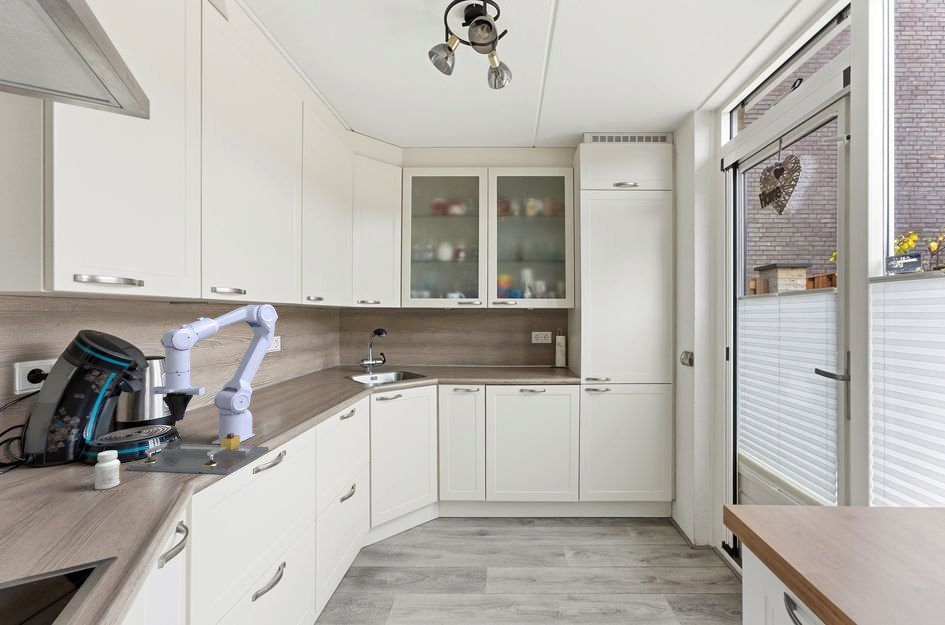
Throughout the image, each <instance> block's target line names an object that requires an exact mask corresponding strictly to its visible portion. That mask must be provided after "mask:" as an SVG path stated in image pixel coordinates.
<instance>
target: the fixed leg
mask: <svg viewBox="0 0 945 625" xmlns="http://www.w3.org/2000/svg"><path fill="white" fill-rule="evenodd" d="M181 444H182V442H181V438H176V437H169V438H168V440H165V441H163V442H162V444H158V445H156V446H154V447H150V448H148V449H145V450H144V451H145V452H144V454H146V455H147V458H148V460H151V459H152V456H153V455H152V454H153V452H156V451H158V450H161V449H162V448H163V449H173V448H175V447H178V446H180V445H181Z"/></svg>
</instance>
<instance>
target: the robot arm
mask: <svg viewBox="0 0 945 625" xmlns="http://www.w3.org/2000/svg"><path fill="white" fill-rule="evenodd" d="M278 318H279V316H278V314H277V312H276V309H275V307H274V306H273V305H272V304H268V303H267V304H247V305H246V306H240V307H238V308H236V309H234V310H231V311H229V312H227V313H225V314H222V315H220V316H218V317H215V318H213V319H211V318H210V317H198V318H196V321H193V322H190V323H188V324H181V325H180V327H179V328H172V329H168V330H167V331H165V333H164V334H163V335H162V337H161V339H160V344H161V346H162V347H163V348H164V351H165V354H164V355H165V356H164V357H165V361H164V364H165V365H164V366H165V367H164V368H165V370H164V371H165V372H164V374H165V375H164V377H165V380H164V382H165V386H164V385H163V386H162V385H161V386H153V387H152V386H151V395H153V396H154V395H165V396H163V397H162V401H163V402H164V403H165V404H166V406H167V408H168V410H169V412H170V414H171V419H172V421H173V422H179V421H183V420H184V417H185V413H186V410H187V408H188V406H189V404H190V402H191V400H192V399H193V396H202V395H205V391H206V390H205V389H206V388H205V387H203V386H202V387H201V386H194V385H191V348H193V347H194V345H195V344H197V343H200V342H202V341H204V340H206V339H209V338H211V337H214V336H216V334H217V333H218V331H219V330H220V329H223V328H226V327H227V326H231V325H234V324H237V323H239V322H245V323H246V324H247V325H248V327H249V328H250V329H251V330H252V332H253V334H254V336H253V338H252V340H251V342H250V343H249V345H248V348H247V349H246V351H245V353H244V355H243V357H242V359H241V361H240V363H239V365H238V367H237V369H236V371H235V373H234V375H233V376H232V379H230V380H229V381H227V382H226V383H225V384H224V385H223V387H222V389H221V390H219V391H218V392H217V393H216V394H215V396H214V398H213V403H214V406H215V407H216V408H217V409H218V439H216V440H214V441H212V442H211V445H221V439H222V438H224V437H226V436H227V434H230V433H234V435H240V443H242V442H244V441H246V440H248V439H250V438H252V437H254V436H255V435H256V434H255V433H253V415H252V412H251V411H250V410H249V409H248V408H249V406H250V404H251V396H252V393H253V391H254V390H253V389H252V388H253V387H251V386H252V384H251V383H252V381H253V380H254V378H255V376H256V373H257V371H258V369H259V368H260V366H261V363H262V361H263V359H264V357H265V355H266V353H267V351H268V349H269V348H270V345H271V343H272V341H273V339H274V337H275V329H276V322H277V319H278Z"/></svg>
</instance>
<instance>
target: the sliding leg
mask: <svg viewBox="0 0 945 625" xmlns="http://www.w3.org/2000/svg"><path fill="white" fill-rule="evenodd" d="M220 445H221V447H219V448H216V449H214V450H212V451H210V452H208V453H207V456H210V463H212V462H213V455H214V454H216V453H218V452H220V451H222V450H233V449H235V448H237V447H239V446H241V442H240V435H234V433H230V434H227V436H226V437H224V438H222V439H221V444H220Z"/></svg>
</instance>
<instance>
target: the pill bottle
mask: <svg viewBox="0 0 945 625" xmlns="http://www.w3.org/2000/svg"><path fill="white" fill-rule="evenodd" d="M96 460H97V463H96V464H95V465H94V488H95V490H106V489H107V490H108V489H111V488H114V487H117V486H118V485H120V483H121V461H120V460H119V459H118V450H105V451H102V452H99V453H98V454H97V459H96Z"/></svg>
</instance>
